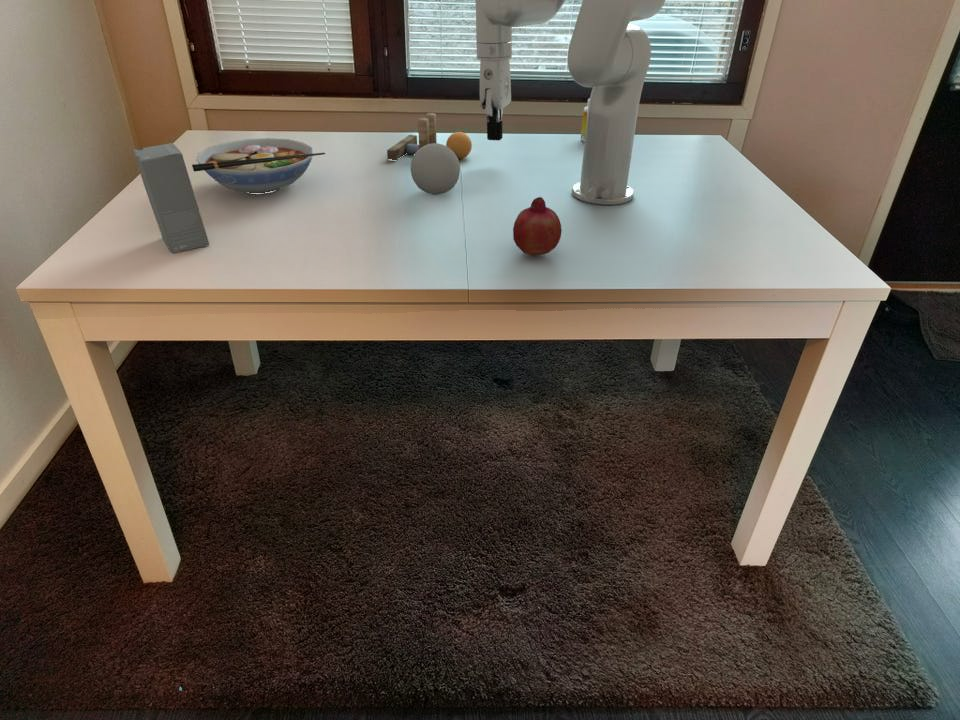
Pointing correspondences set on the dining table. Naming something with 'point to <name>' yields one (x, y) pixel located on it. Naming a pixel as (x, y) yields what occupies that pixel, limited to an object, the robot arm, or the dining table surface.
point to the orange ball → (459, 144)
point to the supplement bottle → (584, 122)
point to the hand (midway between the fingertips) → (494, 139)
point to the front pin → (412, 148)
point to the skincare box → (171, 196)
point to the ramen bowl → (256, 163)
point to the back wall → (401, 147)
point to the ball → (435, 169)
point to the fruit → (537, 229)
